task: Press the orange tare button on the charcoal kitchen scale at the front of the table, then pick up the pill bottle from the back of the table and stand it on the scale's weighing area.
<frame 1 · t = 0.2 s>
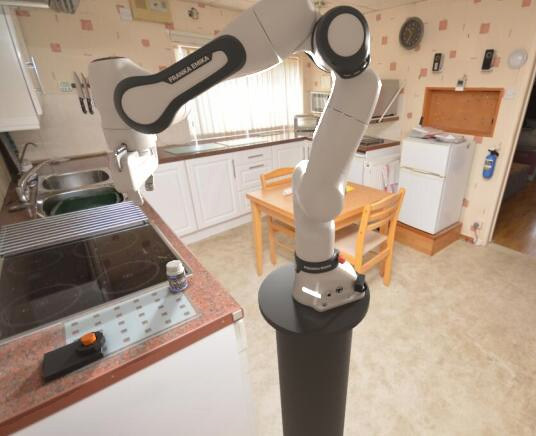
hand: (145, 196, 71), 31 cm above the worktop, tool pointing down, fingers open, 8 cm apart
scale: (75, 357, 66), on the worktop
tare button: (88, 339, 66), point 3 cm above the worktop, slide at 0.1 cm
pill bottle: (179, 287, 88), on the worktop
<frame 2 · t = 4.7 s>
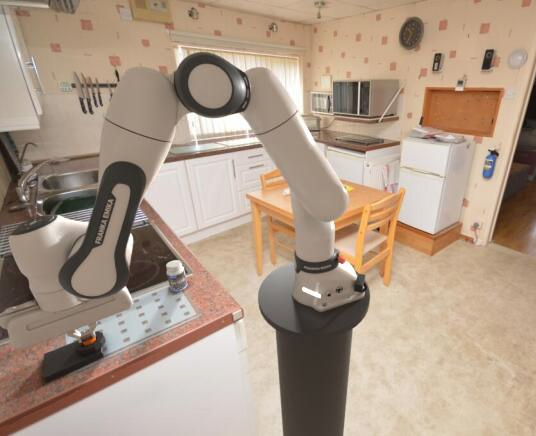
hand: (87, 338, 66), 4 cm above the worktop, tool pointing down, fingers closed, pressing on tare button
tare button: (89, 340, 66), point 3 cm above the worktop, slide at -0.4 cm, touching gripper
everything else where it was.
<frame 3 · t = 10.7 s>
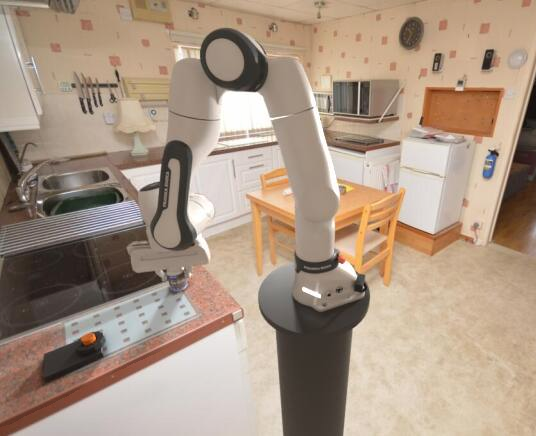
hand: (177, 278, 87), 3 cm above the worktop, tool pointing down, fingers closed on pill bottle, 5 cm apart
tare button: (88, 339, 66), point 3 cm above the worktop, slide at 0.1 cm
pill bottle: (179, 287, 88), on the worktop, touching gripper
when the fingers open (4 cm above the worktop, at t = 18.8 s): pill bottle stays where it is, resting on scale.
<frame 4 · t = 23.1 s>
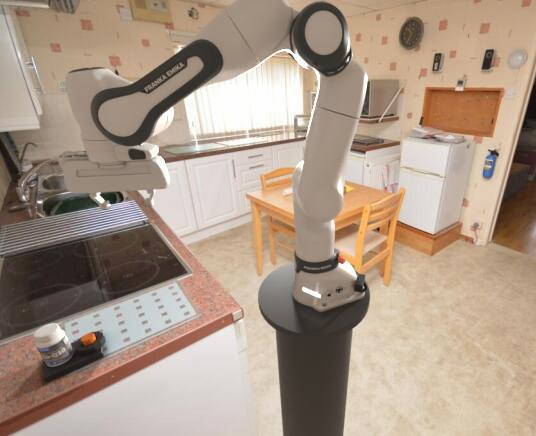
hand: (128, 207, 70), 29 cm above the worktop, tool pointing down, fingers open, 8 cm apart
pill bottle: (61, 358, 64), point 1 cm above the worktop, touching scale
everything else where it was.
at the end: tare button pushed in 0.9 cm at the most during the clip, back to where it started at the end; pill bottle 0.2 cm from the target spot on the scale, point 1.2 cm above the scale's base; pill bottle touching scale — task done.
